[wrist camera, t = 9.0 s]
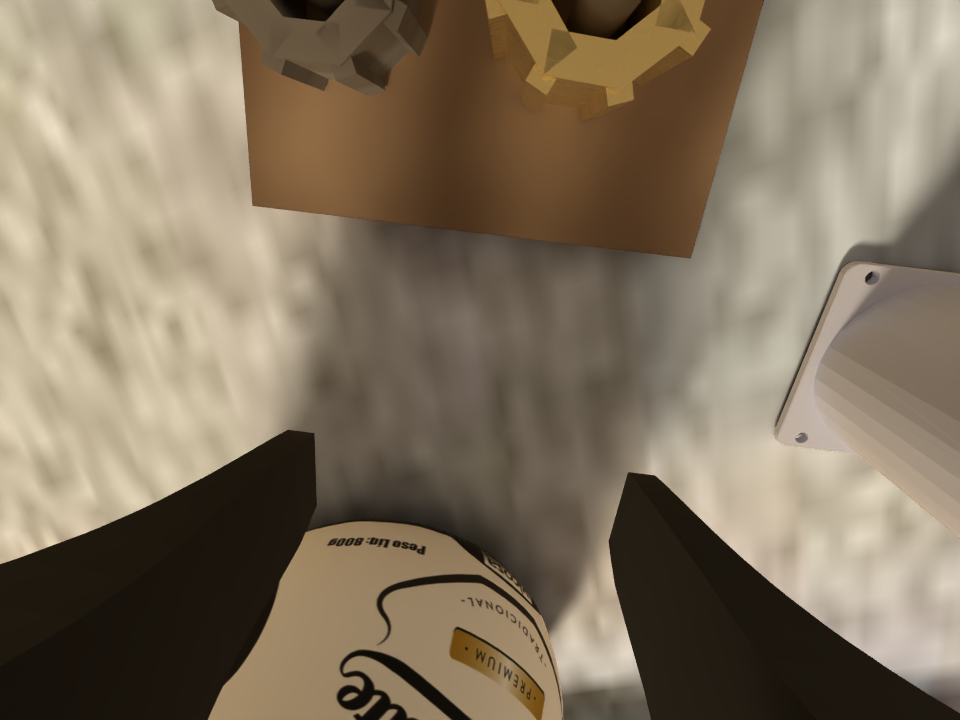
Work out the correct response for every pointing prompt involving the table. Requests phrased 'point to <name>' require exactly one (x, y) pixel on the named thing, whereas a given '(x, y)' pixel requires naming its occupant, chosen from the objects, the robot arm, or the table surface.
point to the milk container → (394, 634)
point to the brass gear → (591, 51)
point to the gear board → (478, 123)
